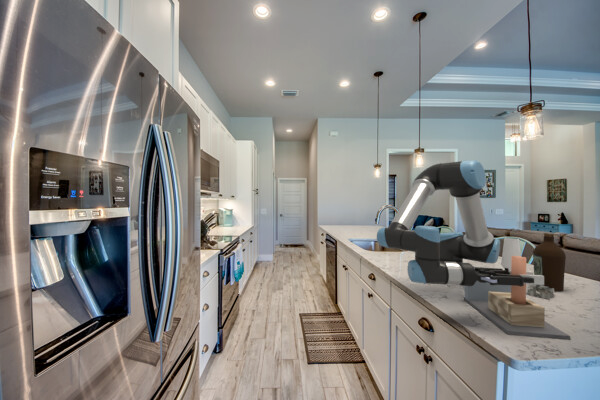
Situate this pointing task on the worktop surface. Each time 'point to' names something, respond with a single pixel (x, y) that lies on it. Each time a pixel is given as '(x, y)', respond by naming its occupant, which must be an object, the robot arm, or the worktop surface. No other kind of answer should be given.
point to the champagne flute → (510, 251)
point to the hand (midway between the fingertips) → (537, 278)
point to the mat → (545, 331)
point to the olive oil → (550, 263)
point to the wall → (483, 290)
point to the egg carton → (540, 291)
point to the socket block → (516, 310)
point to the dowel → (518, 268)
